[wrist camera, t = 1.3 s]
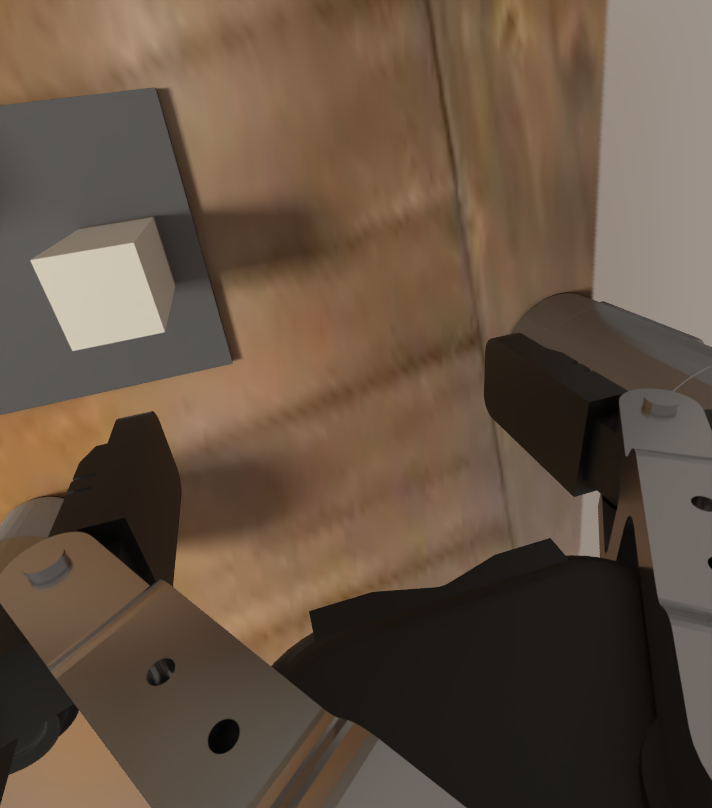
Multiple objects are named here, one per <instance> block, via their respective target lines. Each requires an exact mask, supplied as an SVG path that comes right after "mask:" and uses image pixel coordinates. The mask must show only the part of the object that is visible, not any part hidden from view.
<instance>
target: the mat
mask: <svg viewBox="0 0 712 808" xmlns="http://www.w3.org/2000/svg"><path fill="white" fill-rule="evenodd" d="M150 216H154V217H155V220H156V223H157V226H158V229H159V232H160V235H161V239H162V242H163V245H164V248H165V251H166V254H167V257H168V261H169V264H170V267H171V270H172V273H173V276H174V279H175V283H176V286H175V290H174V295H173V299H172V304H171V308H170V312H169V317H168V321H167V326H166V330H165V332H164V333H159V334H154V335H149V336H144V337H139V338H135V339H130V340H125V341H120V342H115V343H110V344H105V345H100V346H95V347H91V348H86V349H81V350H76V351H72V349H71V347H70V345H69V343H68V341H67V338H66V336H65V334H64V332H63V330H62V328H61V326H60V323H59V321H58V319H57V317H56V315H55V313H54V311H53V308H52V306H51V304H50V302H49V300H48V298H47V295H46V293H45V291H44V289H43V287H42V285H41V283H40V280H39V278H38V276H37V274H36V272H35V270H34V268H33V265H32V263H31V261H30V260H31V259H33V258H34V257H36V256H37V255H39V254H41V253H42V252H44V251H45V250H47V249H48V248H50V247H51V246H53V245H55V244H56V243H58V242H59V241H61V240H62V239H64V238H66V237H67V236H69V235H70V234H72V233H73V232H75V231H77V230H78V229H80V228H82V227H88V226H94V225H100V224H107V223H113V222H119V221H125V220H131V219H138V218H144V217H150ZM228 364H233V363H232V358H231V354H230V350H229V347H228V343H227V340H226V336H225V333H224V329H223V325H222V322H221V318H220V315H219V311H218V308H217V304H216V301H215V297H214V293H213V290H212V286H211V283H210V279H209V276H208V272H207V268H206V265H205V261H204V258H203V254H202V251H201V247H200V243H199V240H198V236H197V233H196V229H195V226H194V222H193V218H192V215H191V211H190V208H189V204H188V201H187V197H186V193H185V190H184V186H183V183H182V179H181V176H180V172H179V168H178V165H177V161H176V158H175V154H174V151H173V147H172V143H171V140H170V136H169V133H168V129H167V126H166V122H165V118H164V115H163V111H162V108H161V104H160V101H159V97H158V93H157V90H156V88H147V89H138V90H130V91H121V92H112V93H104V94H95V95H86V96H78V97H69V98H60V99H52V100H43V101H35V102H26V103H17V104H9V105H0V415H2V414H7V413H11V412H16V411H20V410H25V409H29V408H34V407H38V406H43V405H47V404H52V403H56V402H61V401H65V400H70V399H74V398H79V397H83V396H88V395H93V394H97V393H102V392H106V391H111V390H115V389H120V388H124V387H129V386H133V385H138V384H142V383H147V382H151V381H156V380H160V379H165V378H169V377H174V376H178V375H183V374H187V373H192V372H197V371H201V370H206V369H210V368H215V367H219V366H224V365H228Z"/></svg>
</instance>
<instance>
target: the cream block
mask: <svg viewBox="0 0 712 808" xmlns="http://www.w3.org/2000/svg"><path fill="white" fill-rule="evenodd" d="M30 261H31V263H32V265H33V268H34V270H35V272H36V274H37V276H38V278H39V280H40V283H41V285H42V287H43V289H44V291H45V293H46V295H47V298H48V300H49V302H50V304H51V306H52V308H53V311H54V313H55V315H56V317H57V319H58V321H59V323H60V326H61V328H62V330H63V332H64V334H65V336H66V338H67V341H68V343H69V345H70V347H71V349H72V351H76V350H81V349H86V348H91V347H95V346H100V345H105V344H110V343H115V342H120V341H125V340H130V339H135V338H139V337H144V336H149V335H154V334H159V333H164V332H165V330H166V326H167V321H168V317H169V312H170V308H171V304H172V299H173V295H174V290H175V286H176V283H175V279H174V276H173V273H172V270H171V267H170V264H169V261H168V257H167V254H166V251H165V248H164V245H163V242H162V239H161V235H160V232H159V229H158V226H157V223H156V220H155V217H154V216H150V217H144V218H138V219H131V220H125V221H119V222H113V223H107V224H100V225H94V226H88V227H82V228H80V229H78V230H77V231H75V232H73V233H72V234H70V235H69V236H67V237H66V238H64V239H62V240H61V241H59V242H58V243H56V244H55V245H53V246H51V247H50V248H48V249H47V250H45V251H44V252H42V253H41V254H39V255H37V256H36V257H34V258H33V259H31V260H30Z"/></svg>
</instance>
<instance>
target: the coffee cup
mask: <svg viewBox="0 0 712 808" xmlns="http://www.w3.org/2000/svg"><path fill="white" fill-rule="evenodd" d="M63 500H64V498H59V497H41V498H36V499H32V500H29V501H27V502H25V503H22V504H21V505H19V506H17V507H16V508H14V509H13V510H12V511H11V512H10V513H9V514H8V515H7V517H6V518H5V519H4V521H3V522H2V523H1V525H0V574H1V573H2V571H3V570H4V569H5V568H6V566H7V565H8V564H9V563H10V562H11V561H12V560H13V559H14V558H16V557H17V556H18V555H19V554H21V553H22V552H23V551H25V550H26V549H28V548H29V547H31V546H33V545H34V544H36V543H38V542H40V541H42V540H44V539H47V538H48V536H49V533H50V531H51V529H52V526H53V524H54V522H55V519H56V517H57V515H58V512H59V510H60V508H61V505H62V503H63ZM78 711H79V709H78V708H77V707H76V705H75V704H73V705H72V706H70V707H68V708H67V709H65V710H63V711H62V712H60V713H58V714H57V715H55V716H53V717H52V718H50V719H48V720H47V721H45V722H43V723H42V724H40V725H38V726H37V727H35V728H33V729H32V730H30V731H28V732H27V733H25V734H23V735H22V736H20V737H19V738H18V742H17V746H16V749H15V753H14V757H13V760H12V764H11V767H10V771H9V775H10V774H12V773H15V772H17V771H19V770H22V769H24V768H25V767H28V766H29V765H31V764H33V763H34V762H36V761H37V760H39V759H40V758H41V757H43V756H44V755H45V754H46V753H47V752H48V751H49V750H50V749H51V748H52V746H53V745H54V744H55V742H56V740H57V739H58V737H59V736H60V735H61V734H62V733H63V732H64V731H66V730H67V729H68V727H69V726H70V725H71V724H72V722H73V721H74V719H75V718H76V716H77V714H78Z"/></svg>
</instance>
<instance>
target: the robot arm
mask: <svg viewBox="0 0 712 808" xmlns="http://www.w3.org/2000/svg"><path fill="white" fill-rule="evenodd" d="M484 400H485V404H486V408H487V410H488V412H489V414H490V416H491V417H492V418H493V419H494V420H495V421H496V422H497V423H498V424H499V425H500V426H501V427H502V428H503V429H504V430H505V431H506V432H507V433H508V434H509V435H510V436H511V437H512V438H513V439H514V440H515V441H517V442H518V443H519V444H520V445H521V446H522V447H523V448H524V449H525V450H526V451H527V452H528V453H529V454H530V455H531V456H532V457H533V458H534V459H535V460H536V461H537V462H538V463H539V464H540V465H541V466H542V467H543V468H545V469H546V470H547V471H548V472H549V473H550V474H551V475H552V476H553V477H554V478H555V479H556V480H557V481H558V482H559V483H560V484H561V485H562V486H563V487H564V488H565V489H566V490H567V491H568V492H569V493H570V494H571V495H572V496H574V497H575V496H579V495H582V494H586V493H589V492H593V491H596V490H597V491H599V492H600V493H601V494H600V499H599V505H598V515H599V516H598V518H599V542H600V543H599V544H600V558H599V557H590V556H573V555H571V556H565V555H564V553H563V552H562V551H561V550H560V549H559V548H558V546H557V545H556V544H555V543H554V542H553V541H552V539H551V538H549V539H546V540H542V541H539V542H536V543H533V544H529V545H526V546H523V547H519V548H516V549H513V550H509V551H506V552H503V553H500V554H496V555H494V556H492V557H491V558H489V559H488V560H486V561H484V562H483V563H481V564H479V565H478V566H476V567H474V568H473V569H471V570H470V571H468V572H466V573H465V574H463V575H461V576H460V577H458V578H456V579H455V580H453V581H452V582H450V583H448V584H446V585H444V586H441V587H435V588H421V589H408V590H394V591H380V592H371V593H368V594H365V595H361V596H358V597H355V598H351V599H348V600H345V601H341V602H338V603H335V604H332V605H328V606H325V607H322V608H318V609H315V610H312V611H309V613H310V618H311V623H312V628H313V633H312V634H310V635H308V636H307V637H305V638H303V639H302V640H300V641H299V642H298V643H296V644H295V645H294V646H292V647H291V648H290V649H288V650H287V651H286V652H285V653H284V654H283V655H282V656H281V657H280V658H279V659H278V660H277V661H276V662H275V663H274V664H273V665H272V666H270V665H269V664H267V663H266V662H265V661H264V660H263V659H261V658H260V657H259V656H258V655H256V654H255V653H254V652H253V651H251V650H250V649H249V648H248V647H246V646H245V645H244V644H243V643H242V642H240V641H239V640H238V639H237V638H235V637H234V636H233V635H232V634H230V633H229V632H228V631H227V630H226V629H224V628H223V627H222V626H221V625H219V624H218V623H217V622H216V621H214V620H213V619H212V618H211V617H209V616H208V615H207V614H206V613H205V612H203V611H202V610H201V609H200V608H198V607H197V606H196V605H195V604H193V603H192V602H191V601H190V600H188V599H187V598H186V597H185V596H184V595H182V594H181V593H180V592H179V591H177V590H176V589H175V588H174V587H173V580H174V569H175V558H176V547H177V537H178V526H179V515H180V504H181V482H180V477H179V473H178V469H177V466H176V464H175V461H174V458H173V456H172V453H171V450H170V448H169V445H168V443H167V440H166V437H165V435H164V432H163V429H162V427H161V424H160V421H159V419H158V417H157V415H156V414H155V413H154V412H153V411H151V412H147V413H142V414H137V415H133V416H128V417H123V418H119V419H117V420H116V422H115V424H114V427H113V430H112V433H111V435H110V438H109V441H108V444H103V445H99V446H96V447H95V448H94V449H93V450H92V451H91V452H90V453H89V454H88V455H87V456H86V457H85V458H84V459H83V460H82V461H81V462H80V463H79V465H78V468H77V470H76V472H75V475H74V477H73V482H71V484H70V486H69V489H68V491H67V494H68V495H67V496H65V498H64V500H63V503H62V505H61V508H60V510H59V512H58V515H57V517H56V519H55V522H54V524H53V526H52V529H51V531H50V533H49V536H48V538H47V539H44V540H42V541H40V542H38V543H36V544H34V545H33V546H31V547H29V548H28V549H26V550H25V551H23V552H22V553H21V554H19V555H18V556H17V557H16V558H14V559H13V560H12V561H11V562H10V563H9V564H8V565H7V566H6V568H5V569H4V570H3V571H2V573H1V574H0V804H1V800H2V796H3V793H4V789H5V785H6V782H7V778H8V775H9V771H10V767H11V764H12V760H13V757H14V753H15V749H16V746H17V742H18V738H19V737H20V736H22V735H23V734H25V733H27V732H28V731H30V730H32V729H33V728H35V727H37V726H38V725H40V724H42V723H43V722H45V721H47V720H48V719H50V718H52V717H53V716H55V715H57V714H58V713H60V712H62V711H63V710H65V709H67V708H68V707H70V706H72V705H73V704H75V705H76V707H77V708H78V709H79V711H80V712H81V713H82V715H83V716H84V717H85V719H86V720H87V721H88V723H89V724H90V726H91V727H92V728H93V729H94V731H95V732H96V734H97V735H98V736H99V738H100V739H101V740H102V742H103V743H104V744H105V746H106V747H107V748H108V750H109V751H110V752H111V754H112V755H113V756H114V758H115V759H116V761H117V762H118V763H119V765H120V766H121V767H122V769H123V770H124V771H125V773H126V774H127V775H128V777H129V778H130V780H131V781H132V782H133V783H134V785H135V786H136V788H137V789H138V790H139V792H140V793H141V794H142V796H143V797H144V798H145V800H146V801H147V802H148V804H149V805H150V807H151V808H712V347H710V346H707V345H705V344H704V343H703V341H702V340H701V339H699V338H696V337H694V336H691V335H689V334H686V333H684V332H681V331H678V330H676V329H673V328H671V327H668V326H666V325H663V324H660V323H658V322H655V321H653V320H650V319H648V318H645V317H642V316H639V315H637V314H634V313H632V312H629V311H627V310H624V309H622V308H619V307H617V306H614V305H612V304H609V303H606V302H597V301H595V300H592V299H589V298H587V297H584V296H581V295H578V294H575V293H563V294H559V295H554V296H552V297H549V298H547V299H545V300H543V301H541V302H540V303H538V304H537V305H535V306H534V307H533V308H532V309H531V310H529V311H528V312H527V313H526V314H525V315H524V316H523V318H522V319H521V320H520V321H519V323H518V324H517V325H516V327H515V329H514V331H513V333H512V334H510V335H506V336H501V337H496V338H492V339H490V340H489V341H488V342H487V345H486V350H485V380H484Z"/></svg>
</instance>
